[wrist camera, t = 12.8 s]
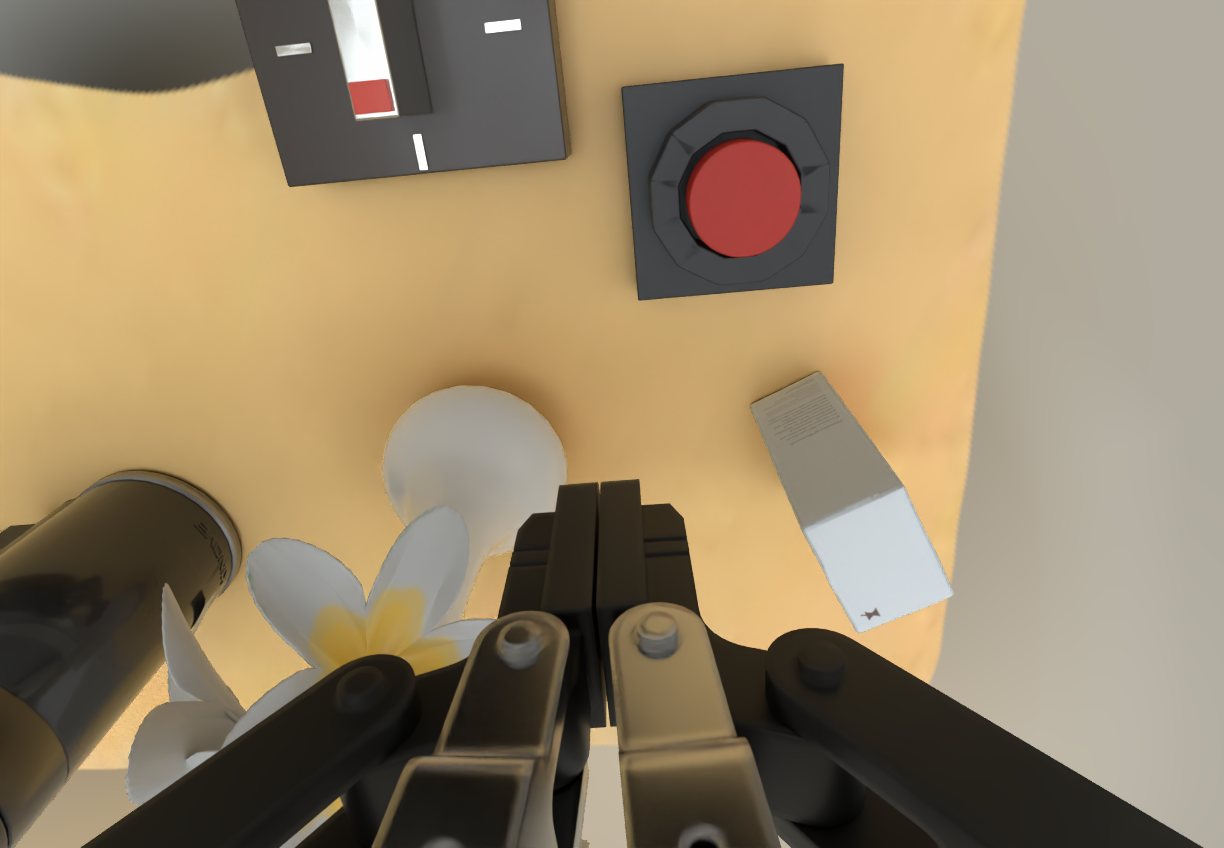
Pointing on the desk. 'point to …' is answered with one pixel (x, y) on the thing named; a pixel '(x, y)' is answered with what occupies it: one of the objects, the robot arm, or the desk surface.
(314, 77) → the rotary lever switch
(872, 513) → the cosmetic box
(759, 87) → the button box
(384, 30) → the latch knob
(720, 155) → the button
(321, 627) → the flower vase
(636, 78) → the desk surface
